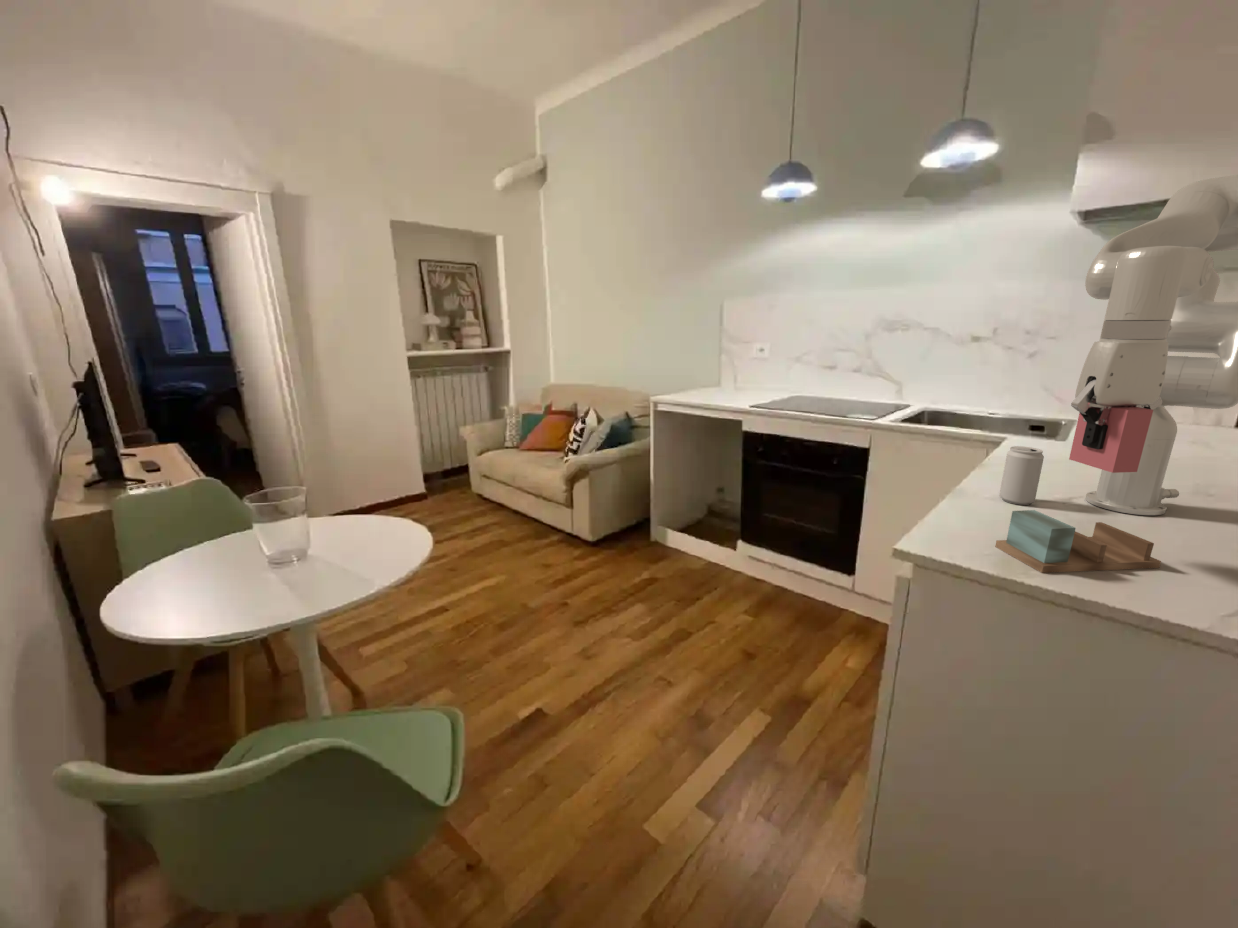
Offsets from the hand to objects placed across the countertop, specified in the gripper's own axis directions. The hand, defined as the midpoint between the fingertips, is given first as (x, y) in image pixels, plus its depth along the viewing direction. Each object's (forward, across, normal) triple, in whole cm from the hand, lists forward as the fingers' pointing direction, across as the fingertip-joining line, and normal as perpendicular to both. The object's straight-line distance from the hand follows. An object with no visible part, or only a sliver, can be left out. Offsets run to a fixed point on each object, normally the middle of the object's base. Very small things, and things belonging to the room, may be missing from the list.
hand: (1106, 445), depth 86 cm
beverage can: (+19, -8, -26) cm, 33 cm away
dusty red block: (+3, 0, 0) cm, 3 cm away
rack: (+19, +3, +2) cm, 19 cm away
